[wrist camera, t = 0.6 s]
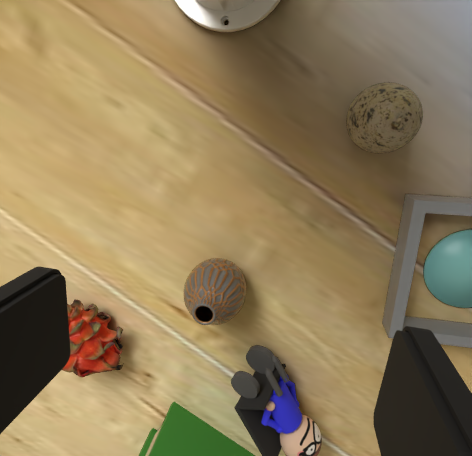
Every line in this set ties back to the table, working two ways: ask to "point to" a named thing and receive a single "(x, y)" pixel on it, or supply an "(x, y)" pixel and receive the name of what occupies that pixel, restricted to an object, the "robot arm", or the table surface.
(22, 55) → the table surface
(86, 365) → the dragon fruit
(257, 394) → the character figurine
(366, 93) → the decorative egg
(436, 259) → the walled pen
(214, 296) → the vase
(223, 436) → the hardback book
